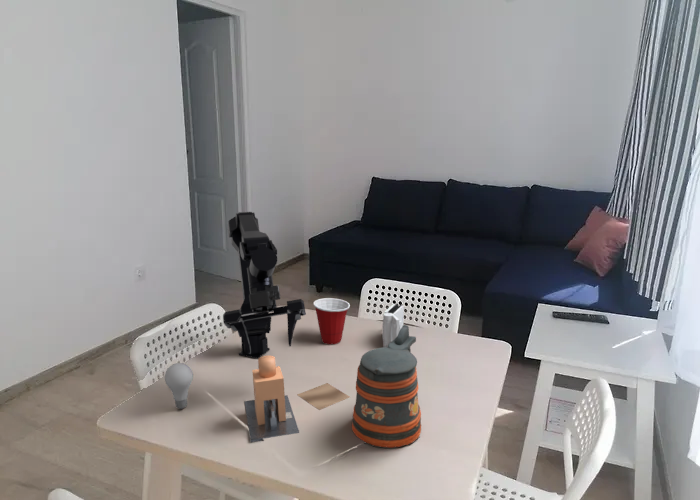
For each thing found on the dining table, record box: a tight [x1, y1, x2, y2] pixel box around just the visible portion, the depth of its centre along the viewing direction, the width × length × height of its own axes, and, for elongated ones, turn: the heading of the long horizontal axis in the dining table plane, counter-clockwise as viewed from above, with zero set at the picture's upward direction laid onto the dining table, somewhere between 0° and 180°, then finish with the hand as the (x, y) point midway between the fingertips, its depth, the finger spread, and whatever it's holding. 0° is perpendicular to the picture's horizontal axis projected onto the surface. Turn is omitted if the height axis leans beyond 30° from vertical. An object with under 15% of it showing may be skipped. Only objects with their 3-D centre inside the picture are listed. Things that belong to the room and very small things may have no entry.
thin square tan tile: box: [297, 382, 351, 411], centre depth 125 cm, size 9×9×1 cm
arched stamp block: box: [251, 354, 286, 425], centre depth 114 cm, size 6×6×14 cm
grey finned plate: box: [244, 394, 300, 443], centre depth 115 cm, size 16×10×5 cm, turn 15°
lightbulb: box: [164, 362, 194, 410], centre depth 119 cm, size 6×6×11 cm
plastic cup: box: [313, 297, 351, 345], centre depth 156 cm, size 11×11×12 cm
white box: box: [382, 303, 405, 348], centre depth 154 cm, size 14×5×10 cm, turn 168°
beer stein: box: [351, 324, 422, 449], centre depth 112 cm, size 19×15×20 cm
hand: (270, 349), depth 120 cm, fingers open, 9 cm apart
